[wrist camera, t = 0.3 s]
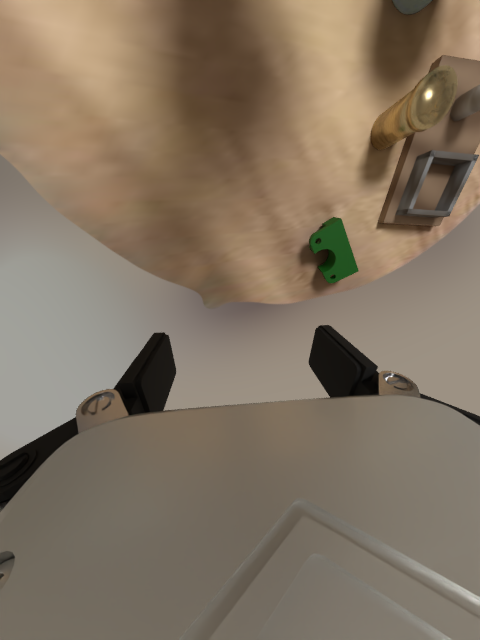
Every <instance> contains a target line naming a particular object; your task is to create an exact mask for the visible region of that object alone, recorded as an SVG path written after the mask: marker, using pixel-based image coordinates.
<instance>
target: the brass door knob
mask: <svg viewBox="0 0 480 640" xmlns="http://www.w3.org/2000/svg"><path fill="white" fill-rule="evenodd" d="M456 92H457V75H456V72H455V71H454V69H453V68H452V67H450V66H447V65H443V66H439V67H437V68H435V69H434V70H432V71H431V72H430V73H429V74H427V75H426V76H425V77H424V78H422V79H421V80H420V81H419V82H418V84H417V85H416V86H415V88H414V89H413V90H412V91H411V92H409V93H408V94H407V95H405V96H404V97H403V98H402V99H400V100H399V101H398V102H396V103H395V104H394V105H392V106H391V107H390V108H389V109H387V110H386V111H385V112H383V113H382V114H381V115H380V116H379V117H378V118H377V119H376V121H375V123H374V125H373V127H372V131H371V142H372V144H373V146H374V147H375V148H376V149H378V150H382V149H385V148H387V147H389V146H391V145H393V144H395V143H397V142H398V141H400V140H402V139H404V138H406V137H408V136H410V135H411V134H413V133H415V132H423V131H425V130H427V129H429V128H431V127H433V126H435V125H436V124H438V123H439V122H440V121H441V120H442V119H443V118H444V117H445V116H446V114H447V113H448V111H449V110H450V108H451V106H452V104H453V102H454V99H455V96H456Z"/></svg>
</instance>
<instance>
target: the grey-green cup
mask: <svg viewBox="0 0 480 640" xmlns="http://www.w3.org/2000/svg"><path fill="white" fill-rule="evenodd" d="M392 1H393V3H394V5H395V7H396V8H397V9H398V10H399V11H400V12H401V13H404V14H414V13H417V12H419V11H420V10H421V9H423V8H424V7H426V6H427V5H428V4H429V3H430V2H431V1H432V0H392Z"/></svg>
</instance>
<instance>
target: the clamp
mask: <svg viewBox="0 0 480 640" xmlns="http://www.w3.org/2000/svg"><path fill="white" fill-rule="evenodd" d="M322 226H323V228H322V229H320V230H318V231H317V232H315V233H313V234H312V235H311V237H310V239H309V244H310V247H309V248H310V250H311V251H312V252H313V253H314V254H315V253H317V252H318V251H320V250H323V249H328V251H329V255H328V258H327V260H326V261H325V262H324V263H323V264H322V265H320V266H318V268H319V270H320V271H321V272H322V274H323V276H324V278H325V280H326V281H327V282H328V283H335V282H337V281H339V280H341V279H343V278H345V277H347V276H349V275H352V274H354V273H356V272H358V268H357V265H356V262H355V259H354V256H353V253H352V250H351V247H350V244H349V241H348V238H347V235H346V232H345V229H344V225H343V222H342V219H341V218H336V217H333V218H331V219H329V220H328V221H326V222H325V223H323V224H322ZM318 238H319V239H320V240H319V241H318V242H316V243H315V241H316V239H318ZM333 274H334V275H333ZM331 275H333V276H332V277H330V276H331Z"/></svg>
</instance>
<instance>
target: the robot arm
mask: <svg viewBox="0 0 480 640" xmlns="http://www.w3.org/2000/svg"><path fill="white" fill-rule="evenodd" d="M309 365H310V367H311V369H312V370H313V372H314V373H315V375H316V376H317V378H318V379H319V381H320V382H321V384H322V385H323V387H324V389H325V390H326V392H327V393H328V395H329V396H330V398H316V399H303V400H289V401H275V402H264V403H249V404H237V405H225V406H213V407H200V408H188V409H177V410H167V411H163V409H164V407H165V404H166V401H167V398H168V395H169V392H170V389H171V386H172V384H173V381H174V378H175V375H176V367H175V363H174V358H173V353H172V348H171V344H170V339H169V336H168V335H166V334H165V333H154V334H153V335H152V337H151V338H150V339H149V341H148V342H147V344H146V345H145V346H144V348H143V349H142V350H141V352H140V353H139V355H138V356H137V357H136V358H135V360H134V361H133V362H132V364H131V365H130V367H129V368H128V369H127V371H126V372H125V374H124V375H123V376H122V378H121V379H120V381H119V382H118V383H117V385H116V386H115V388H114V389H106V390H102V391H99V392H96V393H94V394H93V395H91V396H89V397H88V398H86V399H85V400H84V401H83V402H82V403H81V404H80V405H79V406H78V408H77V410H76V417H75V418H73V419H72V420H70V421H68V422H66V423H64V424H63V425H61V426H59V427H57V428H55V429H54V430H52V431H50V432H48V433H47V434H45V435H43V436H41V437H39V438H38V439H36V440H34V441H32V442H30V443H29V444H27V445H25V446H23V447H22V448H20V449H18V450H16V451H14V452H13V453H11V454H9V455H8V456H6V457H5V458H3V459H2V460H0V640H480V416H477V415H475V414H472V413H470V412H467V411H465V410H462V409H459V408H457V407H454V406H452V405H449V404H446V403H444V402H441V401H439V400H436V399H434V398H431V397H428V396H425V395H423V394H420V393H419V389H418V387H417V385H416V384H415V383H414V382H413V381H412V380H410V379H409V378H407V377H405V376H403V375H401V374H399V373H396V372H392V371H381V372H380V373H378V372H377V371H376V370H377V367H378V366H377V365H375V364H374V363H373V362H372V361H371V360H369V359H368V358H367V357H366V356H365V355H364V354H363V353H361V352H360V351H359V350H358V349H357V348H355V347H354V346H353V345H352V344H351V343H350V342H348V341H347V340H346V339H345V338H344V337H343V336H341V335H340V334H339V333H338V332H337V331H336V330H334V329H333V328H332V327H331V326H329V325H323V326H322V325H321V326H319V327H318V328H316V330H315V335H314V340H313V344H312V349H311V353H310V358H309Z"/></svg>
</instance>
